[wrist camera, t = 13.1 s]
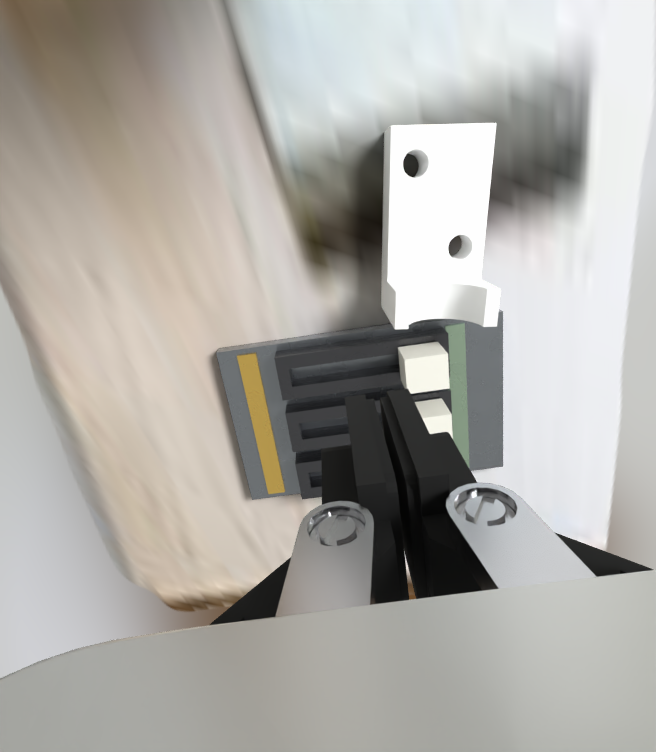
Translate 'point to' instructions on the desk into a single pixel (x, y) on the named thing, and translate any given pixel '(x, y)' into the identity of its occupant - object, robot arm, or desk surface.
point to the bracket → (437, 224)
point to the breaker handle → (424, 367)
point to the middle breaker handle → (435, 416)
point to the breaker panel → (352, 378)
